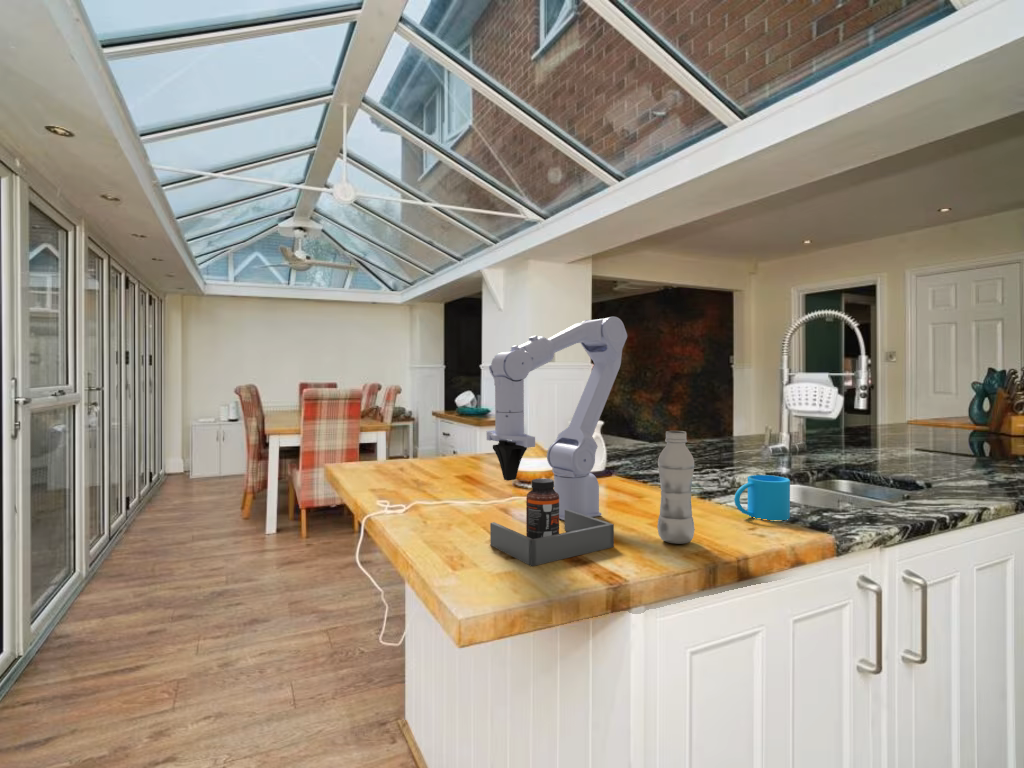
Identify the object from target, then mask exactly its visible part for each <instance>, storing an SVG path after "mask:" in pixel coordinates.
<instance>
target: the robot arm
mask: <svg viewBox="0 0 1024 768" xmlns="http://www.w3.org/2000/svg"><path fill="white" fill-rule="evenodd" d="M627 338H628V333H627V330H626V328H625V325H624V322H623V321H622V319H621V318H619V317H617V316H609V317H605V318H604V317H603V318H599V319H598V318H597V319H585V320H583V321H582V322H580V321H579V322H576V323H574V324H573V325H571V326H568V327H567V328H566V329H564V330H561V331H559V332H558V333H556V334H554V335H553V336H550V337H549V338H547V337H544V336H542V335H541V336H538V335H532V336H530V337H528V341H527V342H525V343H522V344H520V345H518V344H514V345H512V346H511V347H510V351H503V352H499V353H496V354H495V355H494V357H493V358H492V360H491V364H490V365H489V366H488V369H489V373H490V375H491V376H492V377H493V380H494V382H493V383H494V386H495V387H494V402H495V403H494V404H495V405H494V407H495V408H494V409H495V410H494V411H495V414H494V415H495V416H494V418H495V419H494V420H495V421H494V422H495V424H494V425H495V430H487V431H486V441H495V442H498V443H497V444H493V445H492V450H493V451H494V453H495V454H496V457H497V460H498V461H499V462H498V463H499V466H500V469H501V470H500V471H501V472H502V473H501V474H502V477H503V480H504V481H507V482H508V481H516V480H517V477H518V472H519V468H520V464H521V461H522V458H523V456H524V455H525V453H526V451H527V450H528V448H535V447H536V436H533V435H530V434H527V433H525V412H524V411H525V407H524V406H525V399H524V398H525V397H524V396H525V394H524V393H525V389H524V387H525V385H524V384H525V383H524V382H525V381H524V380H525V379H526V378H528V376H529V373H531V372H533V371H535V370H536V369H538V368H540V367H542V366H544V365H546V364H548V363H550V362H552V361H553V360H554V355H555V353H557V352H560V351H563V350H564V349H567V348H569V347H572V346H574V345H576V344H580V345H581V347H583V349H584V351H585V352H586V354H587V355H588V357H589V358H590V360H592V361H593V367H592V369H591V371H590V374H589V376H588V379H587V381H586V384H585V385H584V388H583V391H582V394H581V396H580V399H579V401H578V403H577V405H576V408H575V410H574V413H573V414H572V415H573V416H572V418H571V420H570V423H569V425H568V427H567V428H565V429H564V430H562V431H561V432H559V433H558V435H557V437H556V439H555V440H554V441H553V443H552V444H551V445H550V446H549V447H548V450H547V452H546V460H547V464H548V465H549V466H550V467H551V468H552V469H551V471H552V473H553V480H554V491H555V492H557V493H558V494H559V520H562V521H565V510H567V509H568V510H571V511H574V512H578V513H581V514H584V515H587V516H590V517H593V518H596V517H601V516H602V515H603V514H602V512H600V485H599V484H600V483H599V481H598V479H597V477H596V476H595V475H594V474H593V473H592V472H591V471H592V470H593V468H594V466H595V463H596V453H597V449H598V447H599V446H598V443H597V442H596V440H595V439H594V437H593V435H594V434H595V431H596V428H597V425H598V423H599V420H600V417H601V415H602V413H603V411H604V408H605V405H606V403H607V400H608V398H609V396H610V393H611V390H612V388H613V386H614V384H615V380H616V378H617V375H618V372H619V370H620V369H621V368H620V367H621V364H622V356H623V355H622V354H623V349H624V346H625V343H626V341H627Z"/></svg>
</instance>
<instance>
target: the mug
mask: <svg viewBox="0 0 1024 768" xmlns="http://www.w3.org/2000/svg"><path fill="white" fill-rule="evenodd" d="M746 489H747V510H746V509H745V508H744V507H743V505H741V501H740V499H741V495H742V494H743V492H744V491H745V490H746ZM733 499H734V505H735V507H736V509H737V510H738V511H739V512H741V513H742V514H743V515H747V516H748V515H749V516H751V517H755V518H761V519H767V520H787V519H789V518H791V480H790V478H788V477H784V476H777V475H770V474H769V475H768V474H755V475H754V474H753V475H749V476H747V483H744V484H743V485H741V486H740V487H739V488H738V489H737V490H736V492H735V494H734V498H733ZM749 516H748V517H749ZM751 517H750V518H751ZM789 520H790V519H789ZM787 521H788V520H787Z"/></svg>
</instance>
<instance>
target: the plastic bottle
mask: <svg viewBox="0 0 1024 768" xmlns="http://www.w3.org/2000/svg"><path fill="white" fill-rule="evenodd" d="M664 441H665V442H666V445H665V446H664V448H663V449H662V450H661V452H660V453H659V456H658V459H657V466H658V473H659V480H660V483H659V485H660V490H661V491H660V505H659V506H660V507H659V515H658V520H657V533H658V536H659V538H660V539H661V540H662V541H663V542H665V543H670V544H678V545H679V544H683V545H684V544H688V543H690V542H691V541H692V540H693V539H694V534H695V521H694V517H693V510H692V486H693V485H692V484H693V476H694V470H695V458H694V457H693V454H692V453H691V452H690V450H689V448H688V447H687V446H686V443H688V439H687V431H683V430H667V431H665V439H664Z"/></svg>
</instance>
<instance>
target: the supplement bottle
mask: <svg viewBox="0 0 1024 768" xmlns="http://www.w3.org/2000/svg"><path fill="white" fill-rule="evenodd" d="M531 488H532V489H531V490H530V491H528V492H527V493H526V498H525V499H526V517H525V518H526V519H525V520H526V526H525V528H526V535H525V536H527V537H529V538H532V539H536V538H541V537H546V536H551V535H556V534H560V519H559V494H558V493H557V492H555V491H554V479H551V478H533V479H532V480H531Z"/></svg>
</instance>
